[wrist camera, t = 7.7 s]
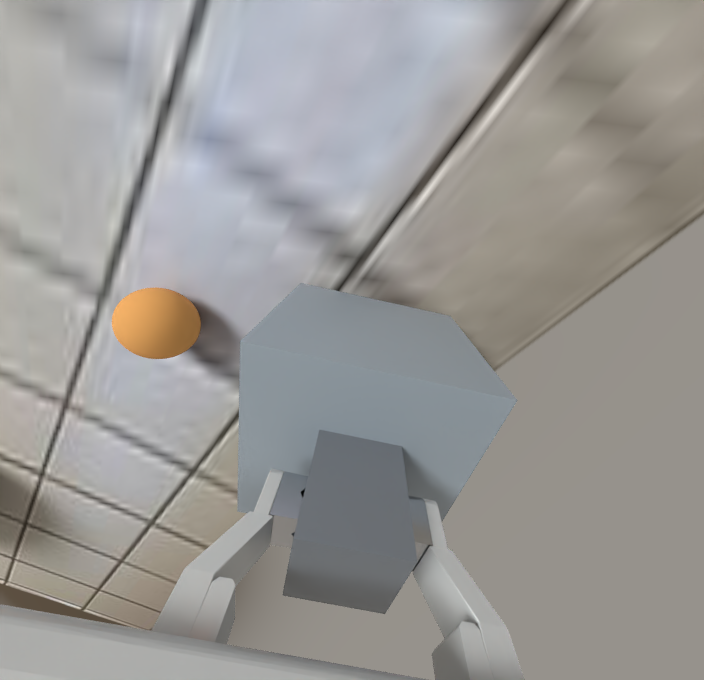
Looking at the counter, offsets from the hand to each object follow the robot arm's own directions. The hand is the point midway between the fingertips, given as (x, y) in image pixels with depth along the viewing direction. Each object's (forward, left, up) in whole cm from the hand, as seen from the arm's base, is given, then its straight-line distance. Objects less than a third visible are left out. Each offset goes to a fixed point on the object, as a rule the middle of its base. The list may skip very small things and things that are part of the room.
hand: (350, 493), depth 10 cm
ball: (+15, 0, -9) cm, 17 cm away
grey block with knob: (0, 0, -10) cm, 10 cm away
